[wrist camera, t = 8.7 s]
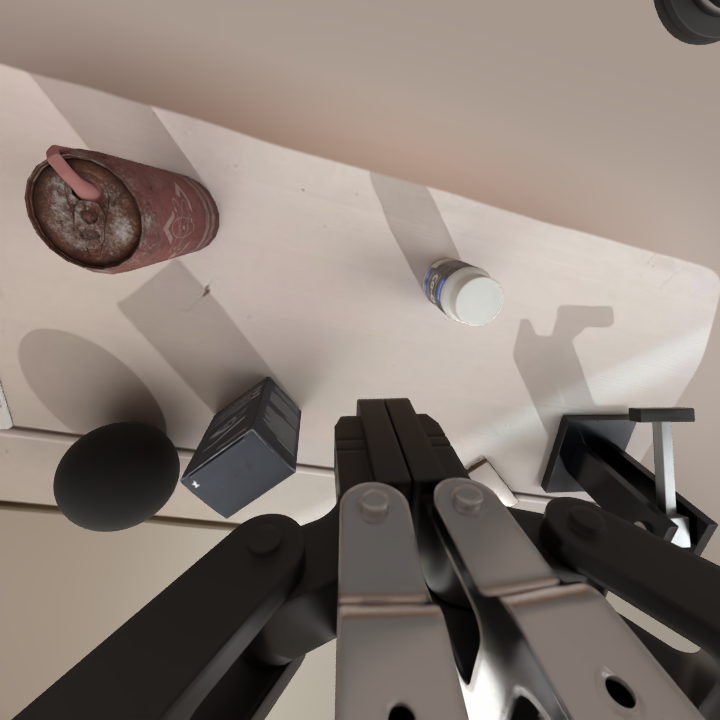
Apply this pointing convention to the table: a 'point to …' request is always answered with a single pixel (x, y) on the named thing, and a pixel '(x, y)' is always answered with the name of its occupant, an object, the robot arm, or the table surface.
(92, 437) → the decorative ball
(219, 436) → the box
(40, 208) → the can
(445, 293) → the pill bottle
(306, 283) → the table surface
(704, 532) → the bracket
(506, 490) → the coaster
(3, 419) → the clipboard
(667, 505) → the lever
